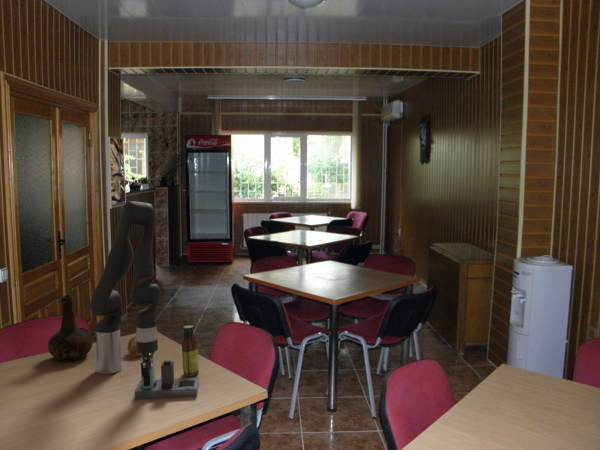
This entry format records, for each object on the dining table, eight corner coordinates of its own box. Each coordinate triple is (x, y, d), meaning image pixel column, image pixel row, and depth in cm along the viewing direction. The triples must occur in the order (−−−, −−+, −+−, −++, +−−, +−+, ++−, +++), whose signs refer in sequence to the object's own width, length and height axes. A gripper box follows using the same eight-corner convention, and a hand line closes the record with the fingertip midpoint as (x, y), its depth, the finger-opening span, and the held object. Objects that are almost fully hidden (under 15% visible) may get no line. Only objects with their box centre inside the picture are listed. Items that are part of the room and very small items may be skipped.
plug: (141, 395, 185) (140, 363, 184) (143, 390, 189) (142, 359, 188) (153, 394, 185) (152, 363, 184) (154, 390, 189) (154, 359, 188)
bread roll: (122, 358, 223) (121, 340, 223) (137, 347, 238) (136, 330, 237) (142, 359, 222) (142, 341, 221) (156, 347, 237) (156, 331, 236)
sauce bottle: (200, 371, 208) (199, 324, 206) (196, 377, 202) (195, 329, 200) (185, 370, 209) (184, 323, 207) (180, 376, 202) (179, 328, 201)
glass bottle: (101, 355, 227) (99, 294, 224) (64, 368, 212) (61, 302, 209) (77, 348, 236) (74, 289, 233) (40, 360, 221) (37, 297, 218)
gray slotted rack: (134, 399, 182) (133, 367, 181) (140, 388, 192) (139, 357, 190) (196, 396, 184) (196, 364, 183) (199, 385, 194) (198, 355, 193)
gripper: (154, 344, 178) (155, 390, 180) (160, 331, 192) (161, 375, 194) (132, 344, 178) (133, 391, 179) (140, 332, 192) (141, 376, 193)
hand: (148, 383), depth 187 cm, fingers closed on plug, 4 cm apart
